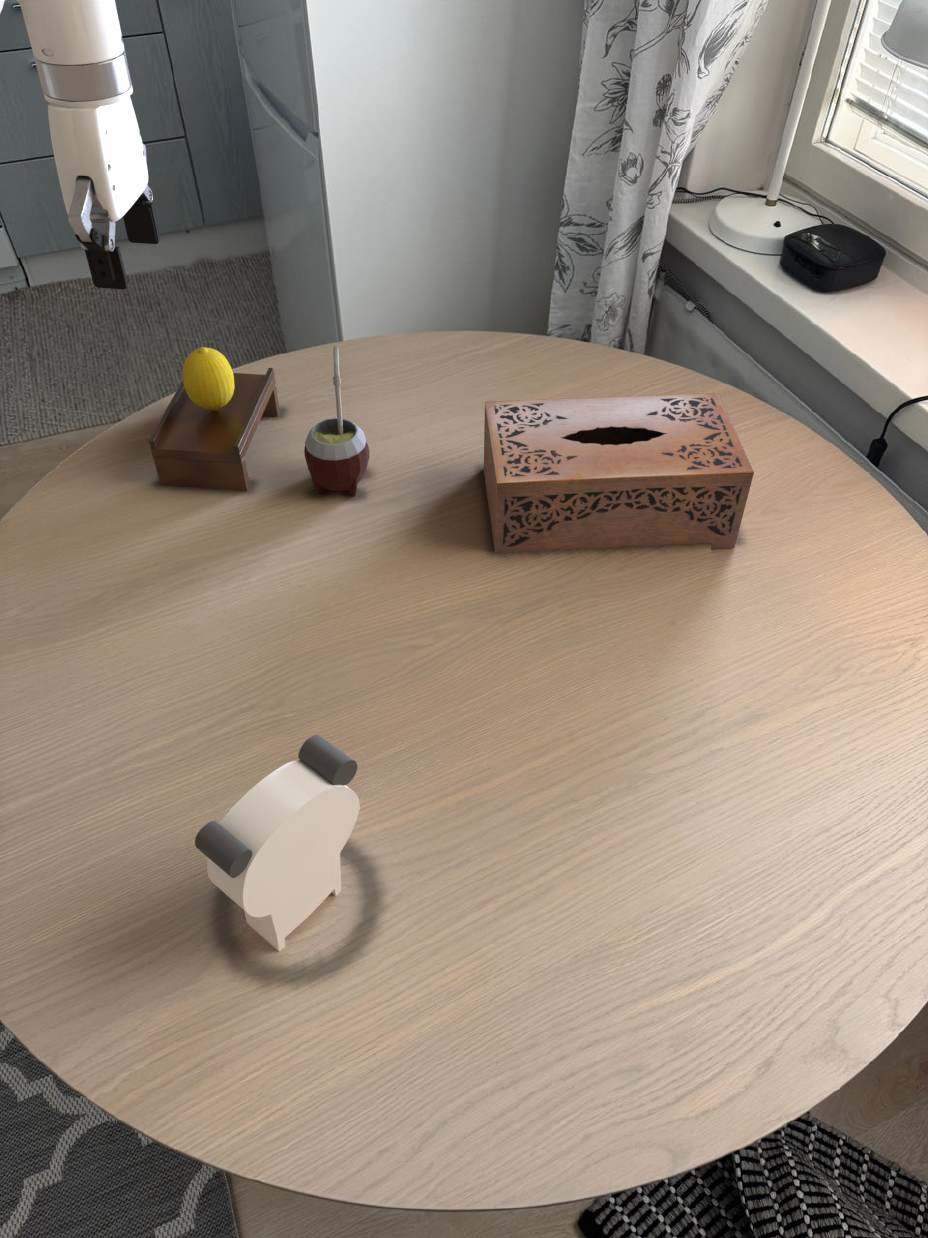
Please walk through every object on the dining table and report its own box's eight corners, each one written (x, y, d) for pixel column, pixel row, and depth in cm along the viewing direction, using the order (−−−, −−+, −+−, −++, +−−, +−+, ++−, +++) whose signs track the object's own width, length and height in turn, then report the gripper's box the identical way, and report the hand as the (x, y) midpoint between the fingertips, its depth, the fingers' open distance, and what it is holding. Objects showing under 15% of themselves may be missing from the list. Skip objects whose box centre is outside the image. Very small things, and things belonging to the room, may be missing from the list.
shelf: (162, 491, 113) (148, 440, 108) (202, 412, 124) (191, 362, 119) (248, 497, 112) (238, 446, 107) (281, 417, 124) (273, 367, 119)
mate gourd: (332, 517, 110) (318, 401, 99) (294, 483, 114) (276, 368, 104) (387, 491, 113) (379, 375, 103) (348, 458, 118) (336, 344, 107)
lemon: (231, 392, 117) (219, 330, 111) (245, 416, 113) (233, 354, 107) (185, 403, 115) (170, 341, 109) (197, 428, 112) (183, 365, 106)
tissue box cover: (702, 466, 117) (718, 392, 110) (734, 547, 107) (754, 472, 99) (483, 475, 115) (484, 401, 108) (494, 558, 105) (497, 483, 98)
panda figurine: (306, 816, 83) (283, 700, 72) (408, 895, 78) (399, 783, 67) (193, 919, 76) (149, 808, 66) (296, 1012, 71) (267, 909, 61)
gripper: (79, 43, 93) (121, 224, 105) (1, 107, 81) (58, 303, 93) (158, 47, 92) (191, 228, 105) (91, 112, 80) (136, 308, 92)
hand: (128, 263), depth 99 cm, fingers open, 9 cm apart
